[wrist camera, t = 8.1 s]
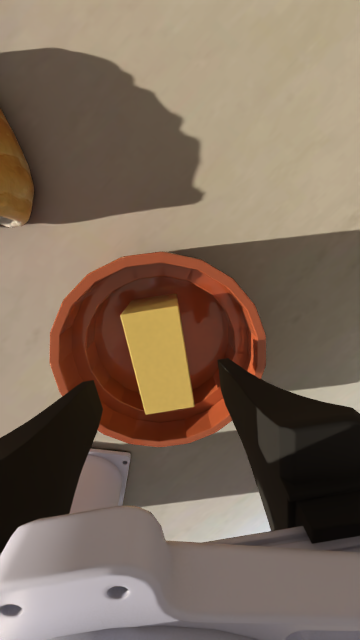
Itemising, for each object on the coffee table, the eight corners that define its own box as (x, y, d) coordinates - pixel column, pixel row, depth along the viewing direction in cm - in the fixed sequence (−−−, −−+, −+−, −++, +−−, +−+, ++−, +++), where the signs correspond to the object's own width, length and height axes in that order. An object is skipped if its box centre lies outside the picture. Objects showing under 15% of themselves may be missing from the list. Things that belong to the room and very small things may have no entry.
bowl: (220, 414, 21) (233, 455, 17) (74, 395, 20) (47, 435, 16) (265, 272, 17) (297, 279, 13) (83, 234, 16) (51, 228, 11)
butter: (189, 376, 19) (194, 407, 15) (150, 382, 19) (145, 415, 15) (176, 293, 17) (178, 305, 13) (130, 300, 17) (119, 315, 13)
